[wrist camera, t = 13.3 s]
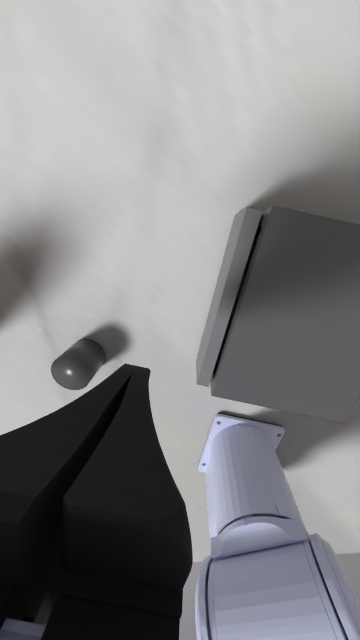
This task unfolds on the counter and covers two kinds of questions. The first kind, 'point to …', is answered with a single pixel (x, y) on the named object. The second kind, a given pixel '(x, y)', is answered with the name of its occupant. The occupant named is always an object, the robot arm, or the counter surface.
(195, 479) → the counter surface
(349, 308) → the grey drawer box
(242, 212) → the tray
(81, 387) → the grey rounded piece
